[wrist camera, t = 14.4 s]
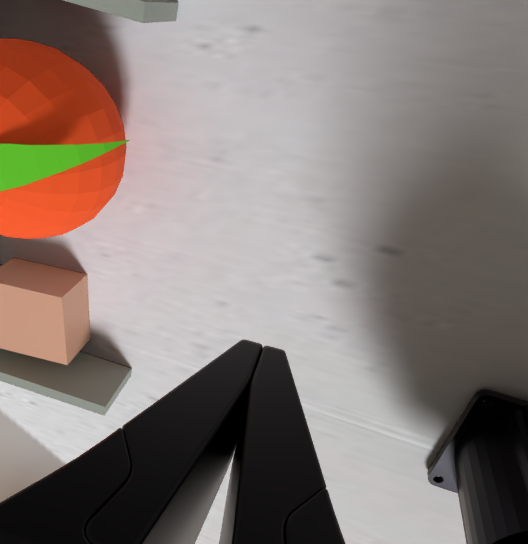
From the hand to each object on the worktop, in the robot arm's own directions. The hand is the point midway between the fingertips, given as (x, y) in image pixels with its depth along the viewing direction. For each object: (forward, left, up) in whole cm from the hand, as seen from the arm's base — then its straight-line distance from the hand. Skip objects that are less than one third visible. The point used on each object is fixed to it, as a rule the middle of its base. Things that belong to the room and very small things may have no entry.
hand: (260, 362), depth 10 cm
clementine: (-1, +10, -12) cm, 16 cm away
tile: (-10, +11, -12) cm, 20 cm away
